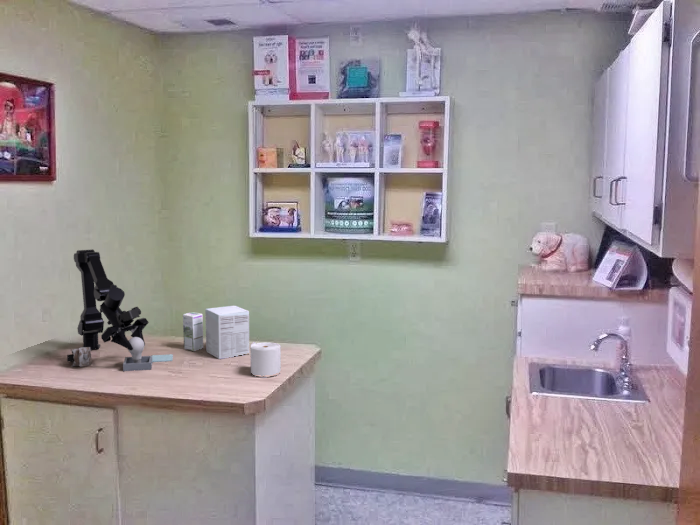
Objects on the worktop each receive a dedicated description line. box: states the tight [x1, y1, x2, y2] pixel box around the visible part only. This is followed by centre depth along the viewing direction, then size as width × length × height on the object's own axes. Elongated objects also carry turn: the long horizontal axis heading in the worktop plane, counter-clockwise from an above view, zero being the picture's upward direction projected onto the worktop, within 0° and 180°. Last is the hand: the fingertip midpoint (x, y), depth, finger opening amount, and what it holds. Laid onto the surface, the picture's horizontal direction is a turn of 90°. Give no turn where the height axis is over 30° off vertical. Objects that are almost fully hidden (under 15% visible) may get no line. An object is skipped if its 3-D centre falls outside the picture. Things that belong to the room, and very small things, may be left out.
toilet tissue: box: [249, 341, 282, 376], centre depth 240 cm, size 11×12×10 cm
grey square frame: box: [122, 355, 153, 372], centre depth 247 cm, size 10×10×2 cm
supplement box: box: [205, 305, 250, 360], centre depth 265 cm, size 13×13×18 cm
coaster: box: [150, 353, 174, 363], centre depth 257 cm, size 8×8×1 cm
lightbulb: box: [127, 337, 145, 363], centre depth 246 cm, size 6×6×11 cm
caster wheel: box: [66, 346, 92, 367], centre depth 249 cm, size 7×11×10 cm
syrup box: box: [182, 311, 204, 352], centre depth 271 cm, size 6×6×14 cm
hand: (138, 347), depth 244 cm, fingers closed on lightbulb, 6 cm apart
